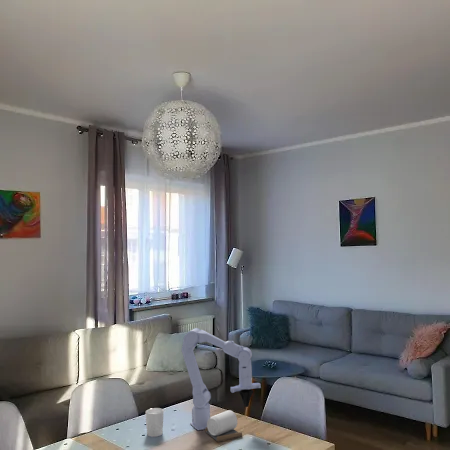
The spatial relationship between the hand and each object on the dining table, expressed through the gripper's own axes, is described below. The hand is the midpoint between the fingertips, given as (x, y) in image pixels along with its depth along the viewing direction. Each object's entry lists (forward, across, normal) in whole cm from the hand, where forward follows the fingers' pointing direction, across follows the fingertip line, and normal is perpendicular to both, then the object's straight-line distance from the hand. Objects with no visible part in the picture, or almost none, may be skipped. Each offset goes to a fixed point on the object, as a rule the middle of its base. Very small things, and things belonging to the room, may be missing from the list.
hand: (246, 406), depth 207 cm
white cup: (+10, -38, +14) cm, 42 cm away
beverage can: (+5, -6, +2) cm, 8 cm away
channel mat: (+10, -12, 0) cm, 15 cm away
